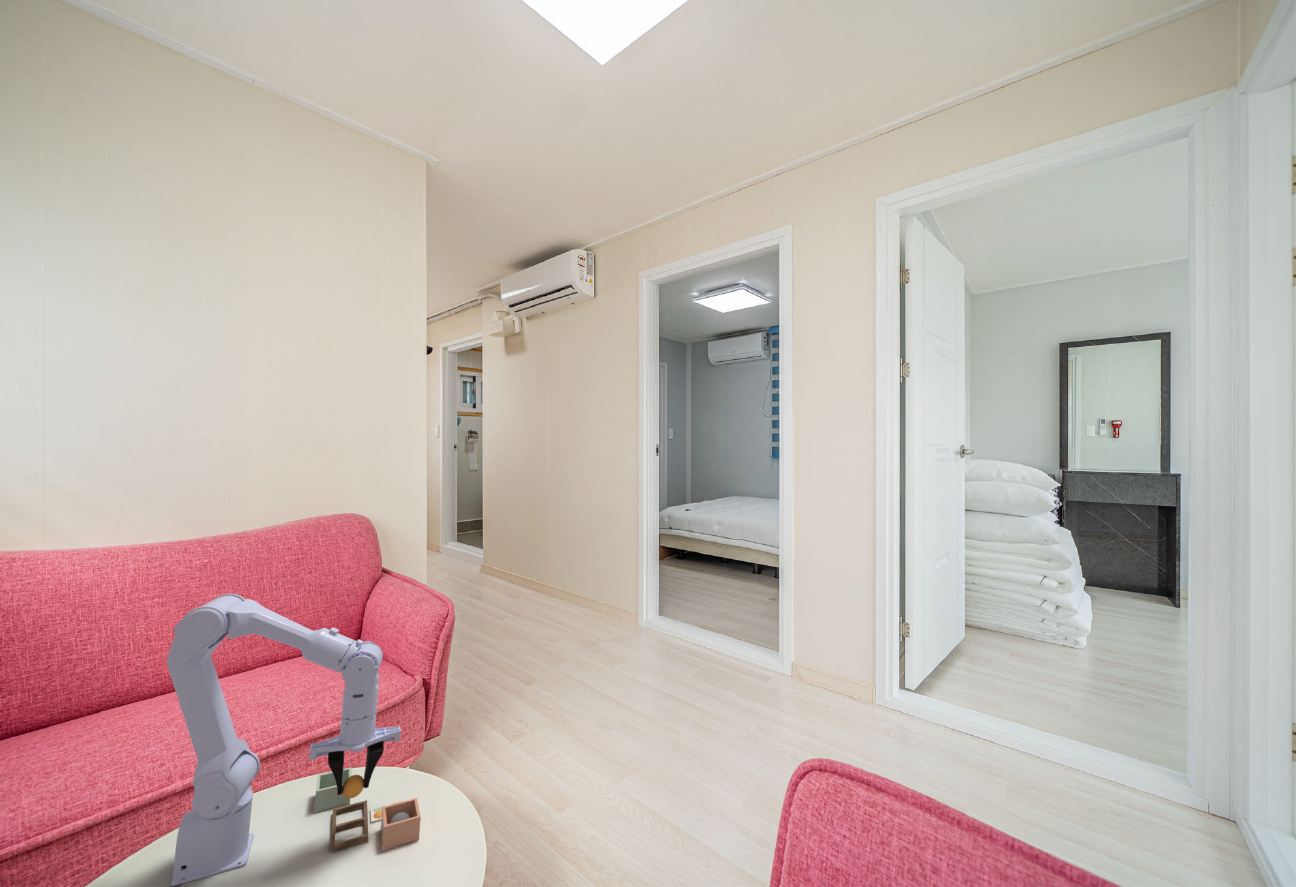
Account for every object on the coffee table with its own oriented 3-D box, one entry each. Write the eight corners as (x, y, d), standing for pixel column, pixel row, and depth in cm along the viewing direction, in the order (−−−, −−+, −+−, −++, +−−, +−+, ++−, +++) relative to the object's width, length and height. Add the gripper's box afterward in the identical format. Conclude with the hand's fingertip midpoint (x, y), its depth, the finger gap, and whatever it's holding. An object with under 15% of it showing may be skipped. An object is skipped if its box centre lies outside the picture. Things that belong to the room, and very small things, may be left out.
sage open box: (314, 812, 97) (315, 791, 97) (316, 795, 102) (317, 774, 102) (349, 803, 100) (351, 783, 100) (349, 786, 105) (351, 767, 105)
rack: (330, 852, 87) (330, 846, 87) (332, 814, 96) (332, 809, 96) (368, 841, 90) (368, 836, 90) (366, 805, 99) (367, 800, 99)
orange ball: (341, 805, 89) (342, 784, 89) (340, 793, 92) (342, 773, 92) (364, 799, 91) (365, 778, 91) (363, 788, 94) (364, 768, 94)
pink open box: (382, 850, 88) (384, 827, 88) (380, 829, 93) (382, 807, 93) (418, 839, 91) (420, 816, 91) (415, 819, 96) (417, 797, 96)
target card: (370, 823, 95) (371, 820, 95) (370, 810, 98) (370, 808, 98) (405, 813, 98) (405, 811, 98) (403, 801, 101) (404, 799, 101)
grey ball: (389, 844, 90) (389, 824, 90) (387, 831, 93) (388, 812, 93) (411, 836, 92) (411, 816, 92) (409, 824, 95) (409, 805, 95)
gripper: (311, 731, 85) (304, 814, 84) (404, 713, 93) (398, 789, 92) (313, 714, 91) (306, 790, 90) (400, 698, 99) (394, 768, 98)
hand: (352, 788), depth 92 cm, fingers closed on orange ball, 4 cm apart
